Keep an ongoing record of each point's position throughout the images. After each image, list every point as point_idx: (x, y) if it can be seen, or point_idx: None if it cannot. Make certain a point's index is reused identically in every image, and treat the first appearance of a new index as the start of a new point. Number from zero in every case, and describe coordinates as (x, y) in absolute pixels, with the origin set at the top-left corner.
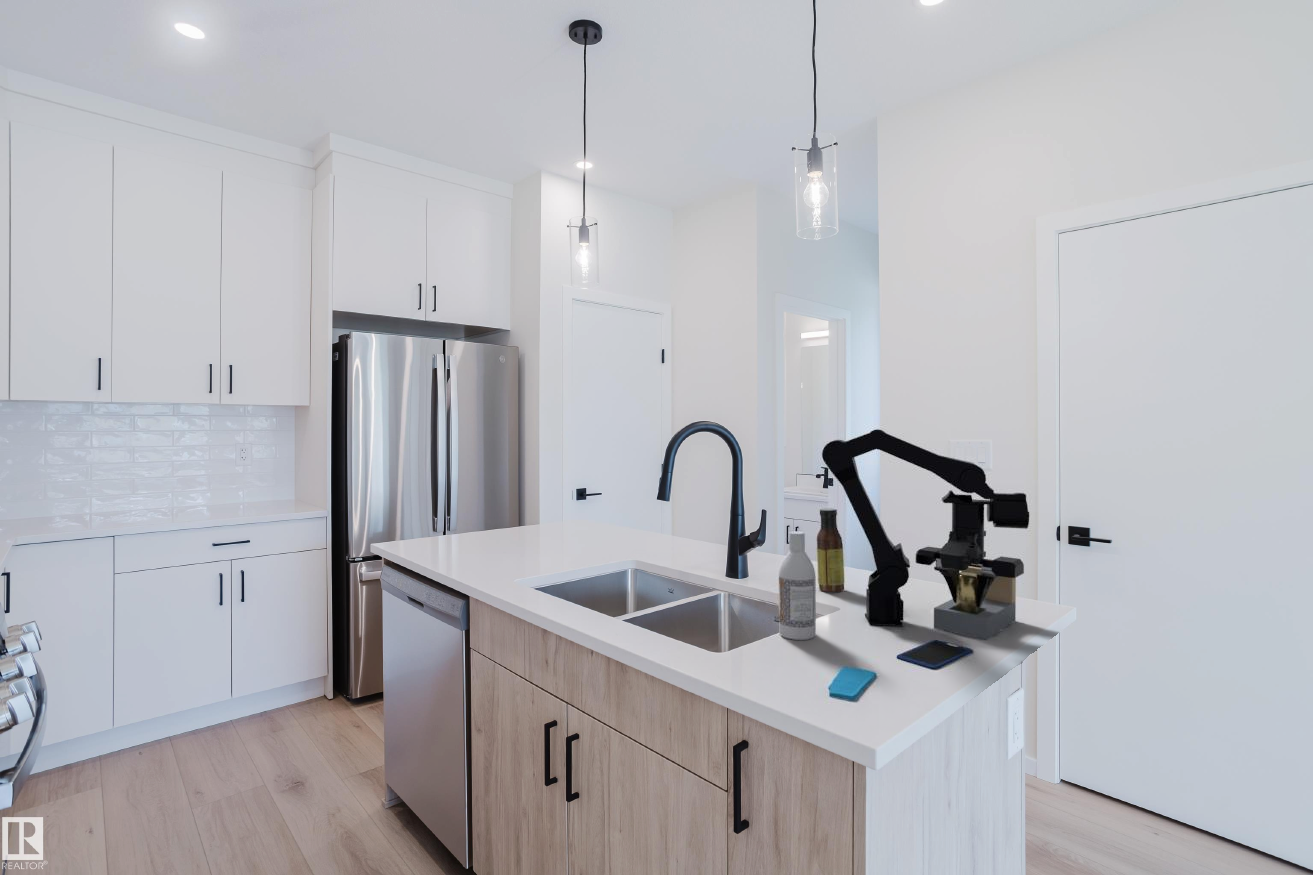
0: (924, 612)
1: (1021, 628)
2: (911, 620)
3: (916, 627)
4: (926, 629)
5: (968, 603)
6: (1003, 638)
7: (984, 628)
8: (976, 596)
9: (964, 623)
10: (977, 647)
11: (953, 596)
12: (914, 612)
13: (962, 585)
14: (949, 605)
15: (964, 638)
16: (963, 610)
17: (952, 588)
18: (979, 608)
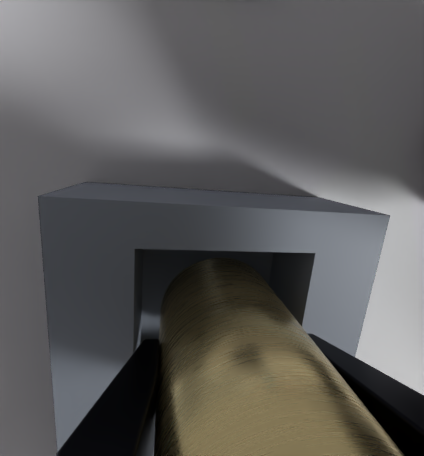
0: (382, 358)
1: (40, 424)
2: (408, 236)
3: (378, 156)
4: (340, 156)
5: (209, 307)
6: (38, 252)
7: (82, 188)
8: (159, 401)
9: (196, 195)
10: (73, 18)
11: (339, 354)
12: (411, 335)
13: (341, 442)
14: (323, 325)
15: (173, 133)
16: (230, 273)
17: (402, 403)
18: None
